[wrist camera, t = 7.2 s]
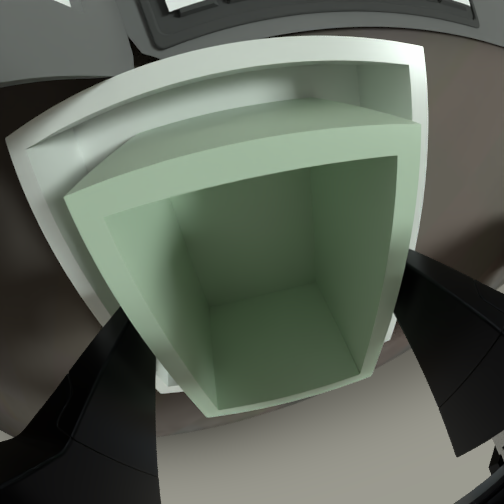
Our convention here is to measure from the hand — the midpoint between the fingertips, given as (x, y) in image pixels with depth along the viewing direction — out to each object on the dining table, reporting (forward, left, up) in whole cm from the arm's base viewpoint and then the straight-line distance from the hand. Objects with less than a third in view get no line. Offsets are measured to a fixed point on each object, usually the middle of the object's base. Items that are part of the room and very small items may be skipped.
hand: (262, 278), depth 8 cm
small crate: (0, 0, -4) cm, 4 cm away
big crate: (0, 0, -4) cm, 5 cm away
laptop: (-8, -27, -5) cm, 29 cm away
